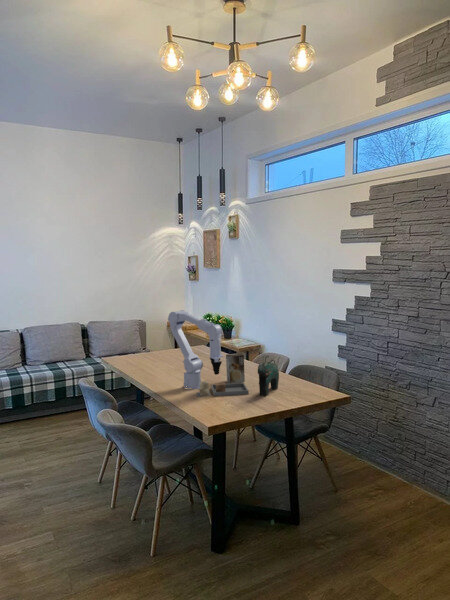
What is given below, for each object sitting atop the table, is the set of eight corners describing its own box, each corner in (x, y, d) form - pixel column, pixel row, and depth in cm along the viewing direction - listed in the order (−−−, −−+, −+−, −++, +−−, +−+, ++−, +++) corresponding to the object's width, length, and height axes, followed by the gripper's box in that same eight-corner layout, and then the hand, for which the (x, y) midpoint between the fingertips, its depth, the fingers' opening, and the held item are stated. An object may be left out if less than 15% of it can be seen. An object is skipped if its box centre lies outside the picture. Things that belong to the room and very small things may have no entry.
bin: (213, 397, 226) (213, 392, 226) (211, 389, 241) (211, 384, 241) (248, 395, 229) (248, 390, 228) (244, 387, 243) (243, 382, 243)
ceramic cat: (266, 398, 222) (265, 359, 220) (254, 396, 225) (254, 358, 224) (281, 388, 239) (280, 351, 238) (270, 387, 242) (269, 351, 241)
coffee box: (241, 380, 259) (240, 352, 257) (245, 382, 253) (244, 355, 251) (226, 381, 256) (225, 354, 255) (229, 384, 250) (228, 356, 249)
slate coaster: (197, 397, 226) (197, 396, 226) (196, 393, 233) (196, 392, 233) (210, 396, 227) (210, 395, 227) (209, 392, 234) (209, 391, 234)
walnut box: (216, 394, 229) (216, 385, 228) (216, 392, 233) (215, 383, 233) (225, 394, 229) (225, 384, 229) (224, 391, 234) (224, 382, 233)
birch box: (200, 395, 228) (200, 383, 227) (199, 393, 232) (199, 381, 232) (209, 395, 228) (208, 383, 228) (208, 392, 233) (208, 381, 232)
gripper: (223, 349, 228) (224, 375, 229) (221, 344, 243) (222, 369, 244) (210, 350, 228) (211, 376, 229) (208, 345, 242) (209, 369, 243)
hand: (216, 372), depth 236 cm, fingers open, 7 cm apart
